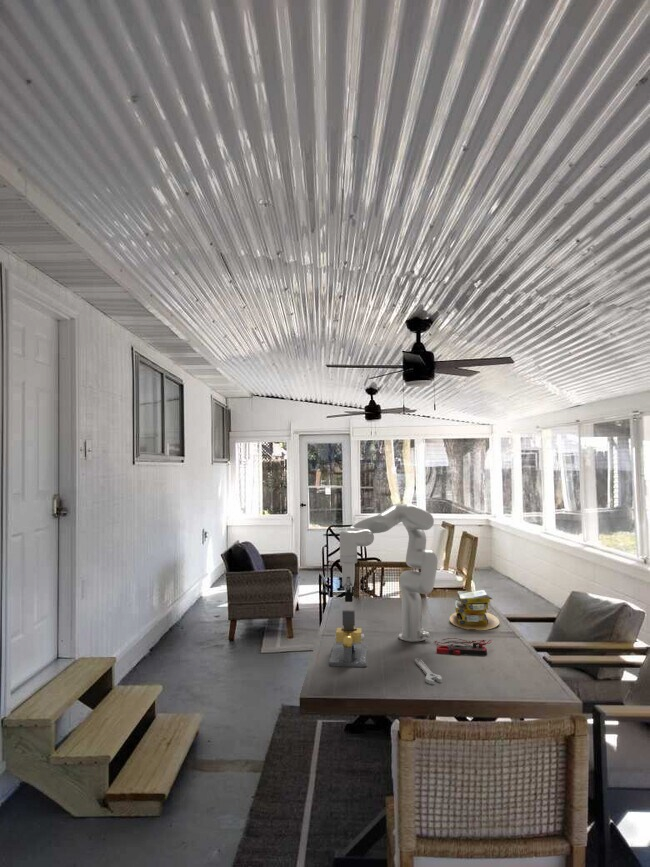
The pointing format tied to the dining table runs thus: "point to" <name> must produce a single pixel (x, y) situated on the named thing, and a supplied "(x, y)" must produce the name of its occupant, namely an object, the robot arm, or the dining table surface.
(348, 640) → the multicoloured piece
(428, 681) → the adjustable wrench
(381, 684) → the dining table surface
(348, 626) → the wedge
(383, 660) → the dining table surface
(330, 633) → the dining table surface
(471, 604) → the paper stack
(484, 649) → the digital clamp meter
